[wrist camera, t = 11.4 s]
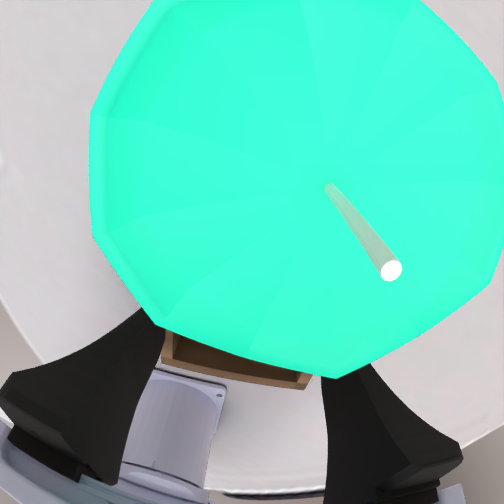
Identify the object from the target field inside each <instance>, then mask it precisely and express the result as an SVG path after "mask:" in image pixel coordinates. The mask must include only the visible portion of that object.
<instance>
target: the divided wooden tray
mask: <svg viewBox="0 0 504 504" xmlns="http://www.w3.org/2000/svg"><path fill="white" fill-rule="evenodd" d="M161 363H163V364H166V365H170V366H174V367H178V368H182V369H186V370H190V371H194V372H198V373H203V374H207V375H212V376H217V377H221V378H226V379H232V380H237V381H243V382H248V383H254V384H261V385H267V386H274V387H282V388H290V389H298V390H304V389H305V388H306V386H307V384H308V382H309V381H310V379H311V377H312V375H313V374H309V373H304V372H300V371H295V370H291V369H287V368H282V367H278V366H274V365H270V364H266V363H262V362H258V361H255V360H251V359H247V358H244V357H241V356H238V355H235V354H232V353H229V352H226V351H223V350H220V349H217V348H214V347H212V346H209V345H206V344H203V343H201V342H198V341H195V340H193V339H190V338H187V337H185V336H182V335H180V334H177V333H175V332H172V331H170V330H167V329H166V334H165V341H164V344H163V347H162V350H161Z"/></svg>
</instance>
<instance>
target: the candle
mask: <svg viewBox="0 0 504 504" xmlns="http://www.w3.org/2000/svg"><path fill="white" fill-rule="evenodd" d="M89 196H90V212H91V225H92V235H93V238H94V239H95V241H96V243H97V244H98V246H99V247H100V249H101V250H102V252H103V253H104V255H105V256H106V258H107V259H108V261H109V262H110V264H111V265H112V267H113V268H114V270H115V271H116V273H117V274H118V275H119V277H120V278H121V280H122V281H123V282H124V284H125V285H126V287H127V288H128V289H129V291H130V292H131V293H132V295H133V296H134V297H135V299H136V300H137V301H138V303H139V304H140V305H141V307H142V308H143V309H144V311H145V312H146V313H147V314H148V316H149V317H150V318H151V320H152V321H153V322H154V323H155V325H158V326H160V327H163V328H165V329H167V330H170V331H172V332H175V333H177V334H180V335H182V336H185V337H187V338H190V339H193V340H195V341H198V342H201V343H203V344H206V345H209V346H212V347H214V348H217V349H220V350H223V351H226V352H229V353H232V354H235V355H238V356H241V357H244V358H247V359H251V360H255V361H258V362H262V363H266V364H270V365H274V366H278V367H282V368H287V369H291V370H295V371H300V372H304V373H309V374H314V375H319V376H324V377H329V378H334V379H337V378H339V377H342V376H344V375H346V374H348V373H350V372H352V371H355V370H357V369H359V368H361V367H363V366H365V365H367V364H369V363H371V362H373V361H375V360H377V359H379V358H381V357H383V356H384V355H386V354H388V353H390V352H392V351H394V350H396V349H397V348H399V347H401V346H403V345H404V344H406V343H408V342H410V341H411V340H413V339H415V338H416V337H418V336H420V335H421V334H423V333H424V332H426V331H427V330H429V329H430V328H432V327H433V326H435V325H436V324H438V323H439V322H441V321H442V320H443V319H445V318H446V317H448V316H449V315H450V314H452V313H453V312H455V311H456V310H457V309H459V308H460V307H461V306H463V305H464V304H465V303H467V302H468V301H469V300H470V299H472V298H473V297H474V296H475V295H477V294H478V293H479V292H480V291H482V290H483V289H484V288H485V287H486V286H488V285H489V284H490V282H491V280H492V277H493V275H494V272H495V269H496V266H497V264H498V261H499V258H500V255H501V252H502V249H503V245H504V104H503V100H502V97H501V93H500V90H499V87H498V84H497V82H496V80H495V79H494V78H493V76H492V75H491V74H490V72H489V71H488V70H487V68H486V67H485V66H484V65H483V63H482V62H481V61H480V60H479V59H478V57H477V56H476V55H475V54H474V53H473V52H472V50H471V49H470V48H469V47H468V46H467V45H466V44H465V43H464V42H463V40H462V39H461V38H460V37H459V36H458V35H457V34H456V33H455V32H454V31H453V30H452V29H451V28H450V27H449V26H448V25H447V24H446V23H445V22H444V21H443V20H442V19H441V18H440V17H438V16H437V15H436V14H435V13H434V12H433V11H432V10H431V9H430V8H428V7H427V6H426V5H425V4H424V3H423V2H421V1H420V0H154V1H153V3H152V4H151V5H150V7H149V8H148V10H147V11H146V12H145V14H144V15H143V17H142V18H141V20H140V21H139V23H138V24H137V26H136V27H135V29H134V30H133V32H132V34H131V35H130V37H129V38H128V40H127V42H126V43H125V45H124V47H123V49H122V50H121V52H120V54H119V56H118V57H117V59H116V61H115V63H114V65H113V67H112V68H111V70H110V72H109V74H108V76H107V78H106V80H105V82H104V84H103V86H102V88H101V90H100V93H99V95H98V97H97V99H96V101H95V104H94V106H93V108H92V110H91V113H90V125H89Z"/></svg>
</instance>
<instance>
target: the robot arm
mask: <svg viewBox="0 0 504 504" xmlns="http://www.w3.org/2000/svg"><path fill="white" fill-rule="evenodd" d="M165 334H166V329H165V328H163V327H160V326H158V325H155V323H154V322H153V321H152V320H151V318H150V317H149V316H148V314H147V313H146V312H145V311H144V309H143V308H142V307H141V308H140V309H139V310H138V311H136V312H135V313H134V314H133V315H131V316H130V317H129V318H128V319H126V320H125V321H124V322H122V323H121V324H120V325H118V326H117V327H116V328H114V329H113V330H111V331H110V332H109V333H107V334H106V335H104V336H103V337H101V338H100V339H98V340H96V341H95V342H93V343H91V344H90V345H88V346H86V347H84V348H83V349H81V350H79V351H77V352H74V353H72V354H70V355H68V356H66V357H63V358H61V359H59V360H56V361H53V362H51V363H48V364H45V365H41V366H38V367H35V368H31V369H26V370H22V371H17V372H13V373H12V374H11V375H10V376H9V378H8V379H7V380H6V382H5V384H4V385H3V386H2V388H1V389H0V407H1V408H2V410H3V411H4V412H5V413H6V415H7V416H8V417H9V418H10V420H11V421H12V422H13V423H14V424H15V425H14V427H13V428H12V429H11V428H10V427H8V426H7V425H6V424H5V423H3V422H2V421H1V420H0V488H1V489H2V490H4V491H5V492H6V493H7V494H9V495H10V496H11V497H12V498H14V499H15V500H16V501H17V502H19V503H20V504H215V503H214V502H213V501H212V500H209V494H210V492H209V491H207V490H203V487H204V481H205V476H206V470H207V464H208V458H209V452H210V447H211V441H212V435H215V433H216V430H217V426H218V422H219V418H220V414H221V411H222V407H223V403H224V399H225V395H226V388H225V387H224V386H220V385H216V384H211V383H206V382H202V381H197V380H193V379H189V378H185V377H181V376H177V375H173V374H169V373H165V372H162V371H158V370H155V369H154V367H155V365H156V363H157V361H158V359H159V356H160V353H161V350H162V347H163V344H164V341H165ZM321 389H322V396H323V403H324V410H325V417H326V425H327V434H328V462H327V477H326V487H325V495H324V501H323V504H466V503H465V498H464V495H463V490H462V486H461V484H460V483H459V484H456V485H454V486H451V487H448V488H446V489H443V490H441V491H439V492H437V489H436V487H438V486H439V485H440V481H439V478H441V477H442V476H444V475H445V474H447V473H448V472H450V471H451V470H453V469H454V468H455V467H457V466H458V465H459V464H460V463H461V462H462V460H463V456H462V452H461V449H460V446H459V443H458V442H456V441H455V440H453V439H451V438H449V437H447V436H446V435H444V434H442V433H441V432H439V431H437V430H436V429H435V428H433V427H432V426H430V425H429V424H427V423H426V422H425V421H423V420H422V419H421V418H420V417H419V416H417V415H416V414H415V413H414V412H413V411H412V410H410V409H409V408H408V407H407V406H406V405H405V404H404V403H403V402H402V401H401V400H400V399H399V398H398V397H397V396H396V395H395V394H394V393H393V391H392V390H391V389H390V388H389V387H388V386H387V384H386V383H385V382H384V381H383V380H382V378H381V377H380V376H379V375H378V373H377V372H376V371H375V369H374V368H373V367H372V365H371V364H370V363H369V364H367V365H365V366H363V367H361V368H359V369H357V370H355V371H352V372H350V373H348V374H346V375H344V376H342V377H339V378H337V379H334V378H329V377H324V376H321Z"/></svg>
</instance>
